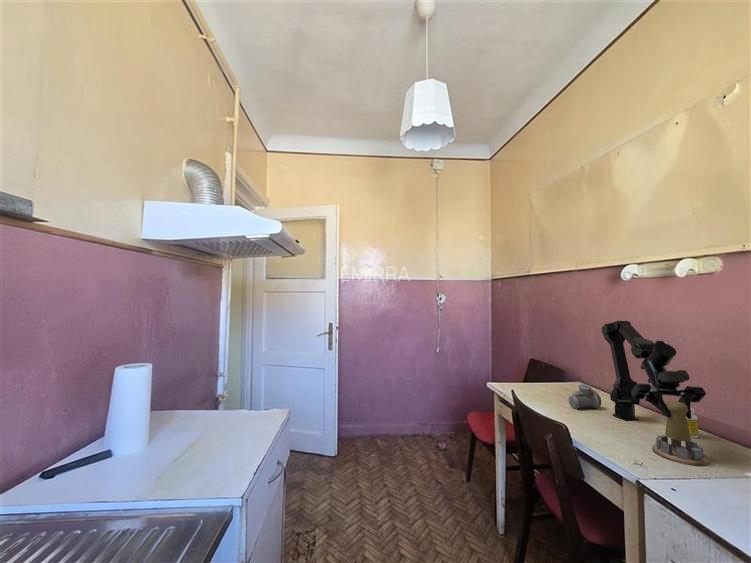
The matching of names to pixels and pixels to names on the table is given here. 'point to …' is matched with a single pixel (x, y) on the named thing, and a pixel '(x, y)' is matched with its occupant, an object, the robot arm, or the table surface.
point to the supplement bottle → (693, 425)
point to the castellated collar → (680, 448)
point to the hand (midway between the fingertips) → (679, 417)
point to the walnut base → (679, 460)
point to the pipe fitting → (585, 398)
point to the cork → (677, 422)
